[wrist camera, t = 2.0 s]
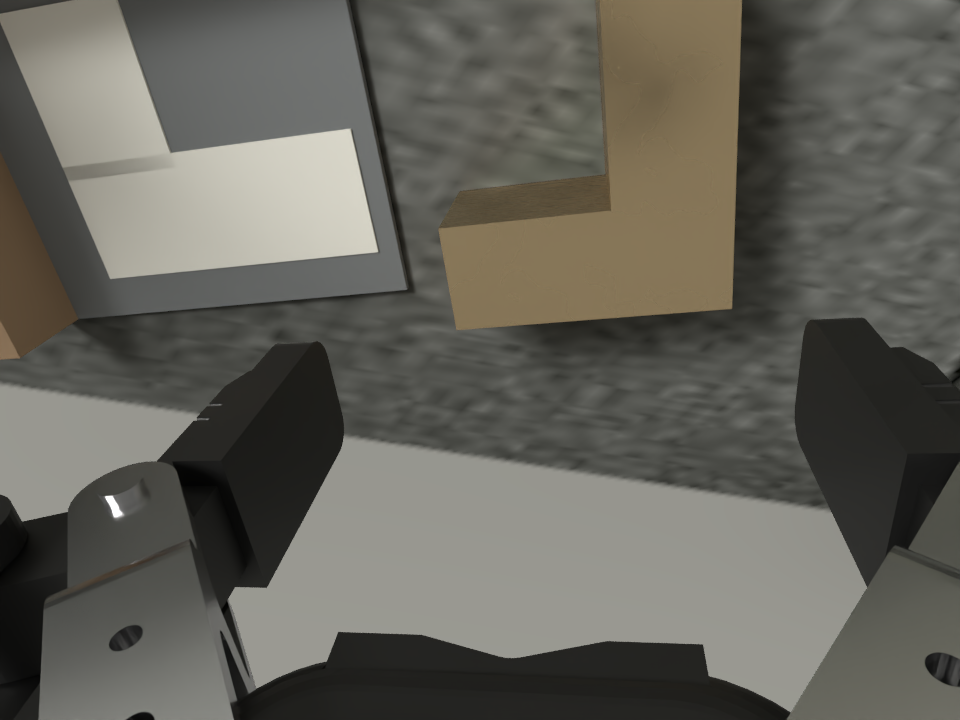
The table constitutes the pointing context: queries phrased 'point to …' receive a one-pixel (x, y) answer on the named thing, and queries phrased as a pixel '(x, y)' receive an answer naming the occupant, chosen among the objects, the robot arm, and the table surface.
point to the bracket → (620, 187)
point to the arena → (184, 160)
